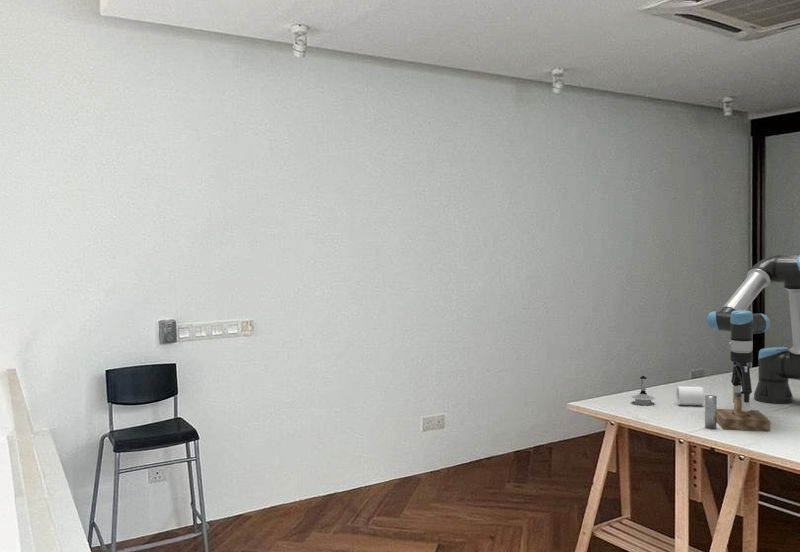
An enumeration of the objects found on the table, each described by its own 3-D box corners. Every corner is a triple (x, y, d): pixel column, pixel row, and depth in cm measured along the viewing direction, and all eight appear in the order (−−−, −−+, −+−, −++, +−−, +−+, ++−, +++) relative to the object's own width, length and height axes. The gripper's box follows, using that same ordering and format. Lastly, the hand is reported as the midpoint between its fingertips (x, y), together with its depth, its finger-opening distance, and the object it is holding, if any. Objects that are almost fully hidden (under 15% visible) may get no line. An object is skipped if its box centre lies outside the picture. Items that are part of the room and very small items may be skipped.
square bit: (745, 423, 268) (745, 392, 268) (748, 426, 264) (748, 395, 264) (734, 423, 269) (734, 392, 268) (736, 425, 265) (736, 394, 265)
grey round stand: (659, 375, 305) (637, 372, 311) (649, 378, 297) (627, 375, 304) (659, 403, 305) (637, 399, 312) (649, 407, 298) (627, 403, 305)
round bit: (715, 426, 265) (715, 395, 264) (717, 429, 261) (717, 397, 260) (703, 426, 266) (704, 394, 265) (706, 428, 262) (706, 397, 261)
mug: (704, 407, 296) (704, 388, 295) (679, 406, 298) (679, 388, 297) (698, 401, 307) (698, 383, 307) (674, 400, 309) (674, 382, 309)
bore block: (758, 420, 272) (758, 410, 272) (770, 431, 257) (770, 420, 257) (714, 418, 276) (714, 408, 276) (723, 429, 260) (723, 418, 260)
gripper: (723, 346, 278) (723, 399, 279) (738, 356, 254) (738, 413, 255) (743, 346, 277) (743, 399, 277) (761, 356, 252) (761, 414, 253)
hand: (741, 406), depth 266 cm, fingers open, 13 cm apart
